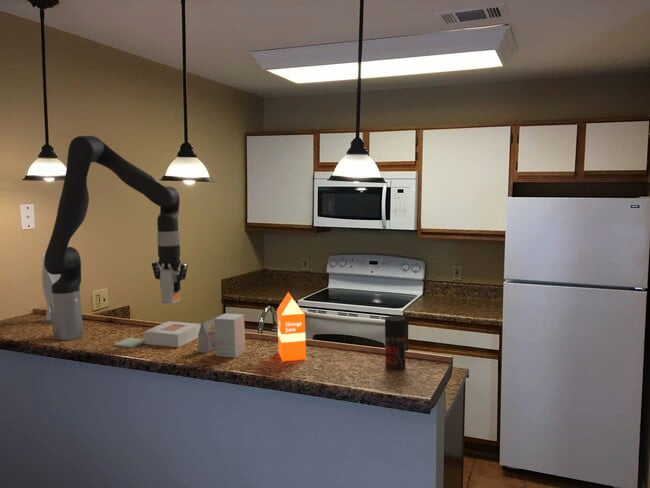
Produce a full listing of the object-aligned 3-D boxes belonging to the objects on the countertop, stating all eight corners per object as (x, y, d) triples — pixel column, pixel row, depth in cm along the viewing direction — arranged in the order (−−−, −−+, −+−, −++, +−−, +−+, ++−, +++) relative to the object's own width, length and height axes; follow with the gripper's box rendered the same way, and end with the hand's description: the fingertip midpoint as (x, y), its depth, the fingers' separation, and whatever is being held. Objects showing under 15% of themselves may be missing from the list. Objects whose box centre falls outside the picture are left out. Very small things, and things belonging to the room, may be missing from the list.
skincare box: (172, 304, 189) (171, 270, 187) (161, 303, 190) (159, 270, 188) (180, 300, 195) (179, 267, 193) (169, 300, 196) (168, 267, 194)
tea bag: (199, 351, 180) (197, 322, 179) (213, 346, 185) (212, 317, 184) (206, 353, 178) (205, 323, 177) (221, 347, 183) (220, 319, 182)
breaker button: (162, 340, 191) (161, 330, 191) (173, 335, 198) (173, 325, 197) (173, 341, 190) (172, 331, 189) (184, 336, 196) (183, 326, 196)
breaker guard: (144, 343, 190) (143, 331, 189) (169, 333, 203) (168, 321, 202) (178, 347, 185) (177, 334, 184) (201, 336, 198) (200, 324, 197)
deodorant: (383, 364, 164) (383, 316, 162) (402, 363, 164) (402, 315, 162) (387, 371, 158) (387, 321, 156) (407, 370, 158) (407, 320, 156)
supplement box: (246, 351, 179) (244, 314, 177) (235, 358, 172) (233, 319, 170) (226, 349, 181) (224, 312, 180) (215, 356, 174) (213, 318, 173)
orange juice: (301, 350, 179) (300, 291, 176) (306, 359, 170) (304, 296, 168) (278, 352, 177) (276, 292, 175) (281, 361, 168) (279, 298, 166)
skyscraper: (39, 322, 223) (33, 254, 219) (56, 317, 230) (50, 252, 227) (53, 324, 219) (48, 255, 216) (70, 319, 226) (65, 253, 223)
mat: (113, 345, 188) (113, 344, 188) (129, 339, 196) (129, 337, 195) (132, 347, 185) (132, 346, 185) (147, 341, 193) (147, 339, 193)
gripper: (144, 244, 189) (147, 292, 191) (179, 245, 184) (181, 295, 186) (158, 241, 196) (160, 288, 198) (192, 243, 191) (194, 290, 193)
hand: (170, 291), depth 192 cm, fingers closed on skincare box, 4 cm apart
